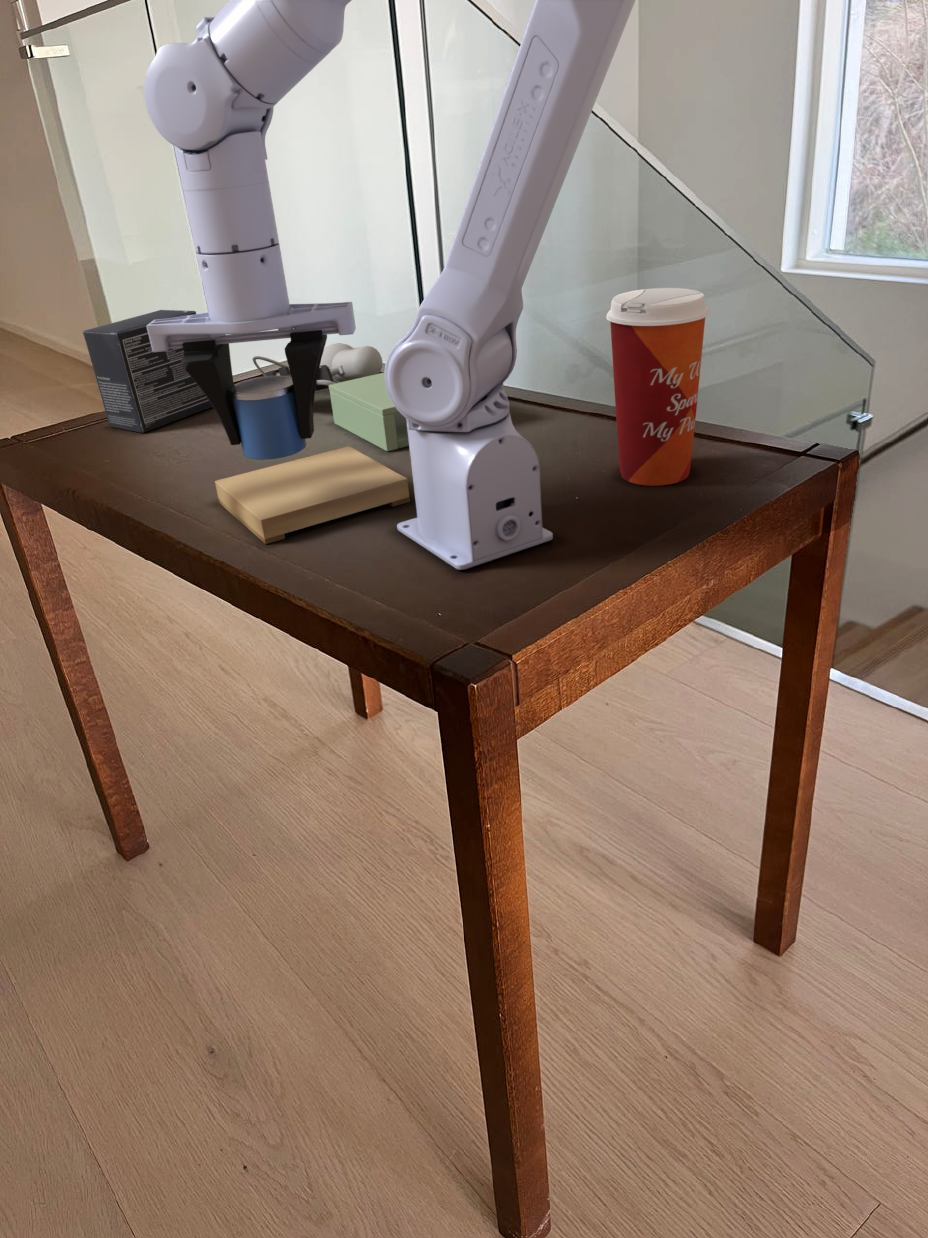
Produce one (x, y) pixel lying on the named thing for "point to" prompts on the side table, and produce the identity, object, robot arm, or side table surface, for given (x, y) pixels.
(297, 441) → the can
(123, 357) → the small box
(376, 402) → the shelf stand
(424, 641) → the side table surface
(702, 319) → the paper cup
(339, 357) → the clip-on lamp
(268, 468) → the low shelf
